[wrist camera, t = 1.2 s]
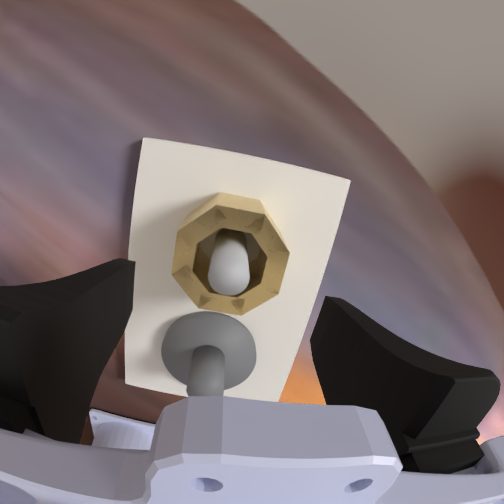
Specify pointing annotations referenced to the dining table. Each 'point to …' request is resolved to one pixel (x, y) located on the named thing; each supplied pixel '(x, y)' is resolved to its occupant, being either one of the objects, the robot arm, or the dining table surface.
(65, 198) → the dining table surface
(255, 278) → the brass collar
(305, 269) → the assembly board
